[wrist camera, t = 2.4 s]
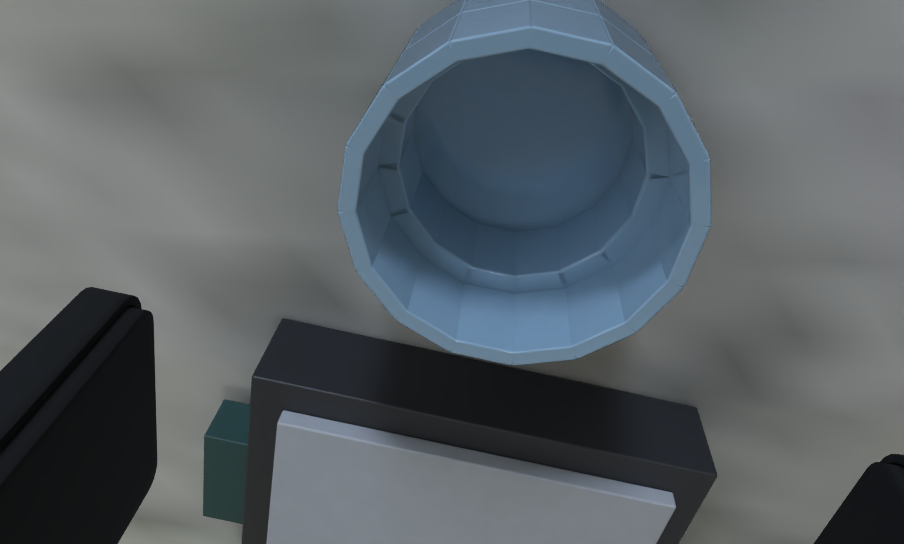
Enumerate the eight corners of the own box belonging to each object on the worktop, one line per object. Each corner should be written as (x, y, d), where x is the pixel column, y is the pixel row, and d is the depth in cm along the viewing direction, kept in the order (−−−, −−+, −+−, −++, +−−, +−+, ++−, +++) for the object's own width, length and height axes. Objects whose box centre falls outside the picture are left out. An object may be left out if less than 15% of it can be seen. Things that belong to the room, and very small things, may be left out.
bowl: (409, -52, 17) (364, -13, 12) (708, 18, 17) (777, 81, 12) (368, 217, 21) (322, 325, 16) (612, 271, 21) (637, 393, 16)
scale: (233, 307, 23) (188, 378, 20) (697, 407, 23) (723, 491, 20) (222, 569, 30) (188, 651, 27) (576, 641, 31) (581, 730, 27)
